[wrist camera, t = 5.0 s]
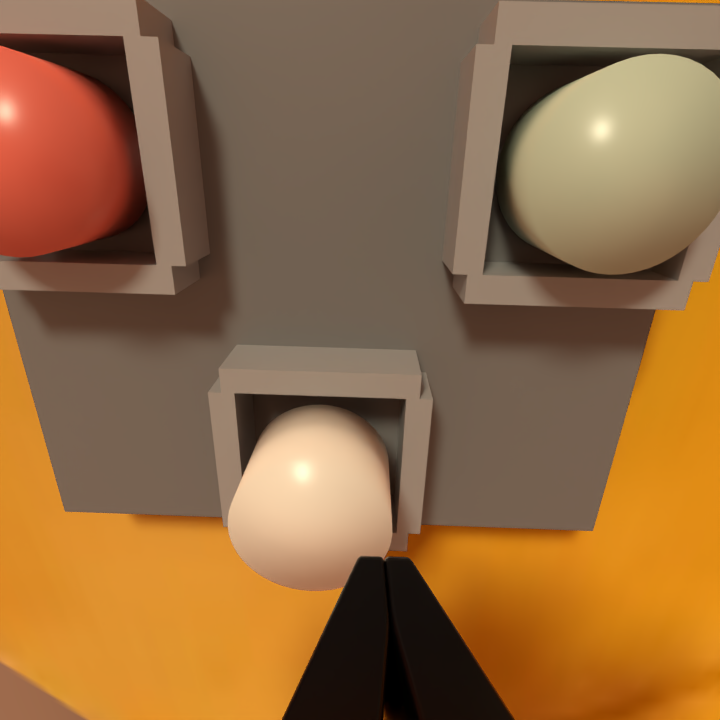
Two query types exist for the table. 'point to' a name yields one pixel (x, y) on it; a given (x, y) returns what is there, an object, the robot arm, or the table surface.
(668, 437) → the table surface
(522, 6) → the control panel
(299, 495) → the cream button
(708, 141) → the sage button
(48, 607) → the table surface
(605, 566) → the table surface
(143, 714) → the table surface
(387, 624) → the robot arm
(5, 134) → the red button
